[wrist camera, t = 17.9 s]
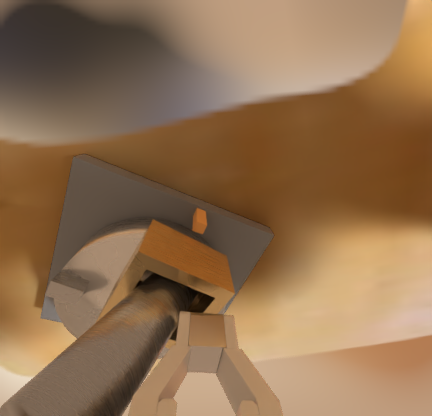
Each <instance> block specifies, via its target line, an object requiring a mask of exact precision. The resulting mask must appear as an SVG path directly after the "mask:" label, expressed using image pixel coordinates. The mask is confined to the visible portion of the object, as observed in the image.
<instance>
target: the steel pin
mask: <svg viewBox="0 0 432 416" xmlns="http://www.w3.org/2000/svg"><path fill="white" fill-rule="evenodd" d="M198 292H199V291H197V290H195V289H192V288H190V287H188V286H185V285H183V284H180V283H178V282H176V281H173V280H171V279H168V278H166V277H164V276H161V275H159V274H156V273H154V272H153V273H152V274H151V275H150V276H148V277H147V278H146V279H145V280H144V281H143V282H142V283H141V284H139V285H138V286H137V287H136V288H135V289H134V290H133V291H131V292H130V293H129V294H128V295H127V296H126V297H125V298H123V299H122V300H121V301H120V302H119V303H118V304H117V305H116V306H114V307H113V308H112V309H111V310H110V311H109V312H108V313H106V314H105V315H104V316H103V317H102V318H101V319H100V320H98V321H97V322H96V323H95V324H94V325H93V326H92V327H91V328H89V329H88V330H87V331H86V332H85V333H84V334H83V335H81V336H80V337H79V338H78V339H77V340H76V341H75V342H73V343H72V344H71V345H70V346H69V347H68V348H67V349H66V350H64V351H63V352H62V353H61V354H60V355H59V356H58V357H56V358H55V359H54V360H53V361H52V362H51V363H50V364H48V365H47V366H46V367H45V368H44V369H43V370H42V371H41V372H39V373H38V374H37V375H36V376H35V377H34V378H33V379H31V380H30V381H29V382H28V383H27V384H26V385H25V386H24V387H22V388H21V389H20V390H19V391H18V392H17V393H16V394H14V395H13V396H12V397H11V398H10V399H9V400H8V401H7V402H5V403H4V404H3V405H2V406H1V408H0V416H122V415H123V413H124V411H125V410H126V408H127V407H128V405H129V403H130V402H131V400H132V398H133V396H134V394H135V393H136V392H137V390H138V389H139V387H140V386H141V384H142V383H143V381H144V379H145V378H146V376H147V374H148V373H149V371H150V370H151V368H152V366H153V365H154V363H155V362H156V360H157V358H158V357H159V355H160V353H161V352H162V350H163V349H164V347H165V345H166V344H167V342H168V340H169V339H170V337H171V336H172V334H173V332H174V331H175V329H176V328H177V326H178V323H179V315H180V311H185V312H186V311H187V310H188V308H189V307H190V305H191V303H192V302H193V300H194V298H195V297H196V295H197V294H198Z"/></svg>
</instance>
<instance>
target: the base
mask: <svg viewBox="0 0 432 416" xmlns="http://www.w3.org/2000/svg"><path fill="white" fill-rule="evenodd" d="M134 218H158V219H163V220H169V221H172V222H175V223H178V224H181V225H183V226H185V227H187V228H189V229H191V230H192V231H194V232H196V233H197V234H199V235H200V236H201V237H202V238H204V239H205V240H206V241H207V242H208V244H209V245H210V246H211V247H212V249H214V250H216V251H218V252H220V253H222V254H224V255H226V256H227V259H228V264H229V268H230V273H231V278H232V282H233V287H234V291H235V294H234V295H233V297H232V298H231V299H230V300H229V301H228V302H227V304H226V307H225V312H226V310H227V309H228V307H229V305H230V304H231V302H232V301H233V299H234V298H235V296H236V295H237V293H238V291H239V290H240V288H241V287H242V285H243V284H244V282H245V281H246V279H247V277H248V276H249V274H250V273H251V271H252V270H253V268H254V267H255V265H256V263H257V262H258V260H259V259H260V257H261V256H262V254H263V253H264V251H265V249H266V248H267V246H268V245H269V243H270V242H271V240H272V239H273V237H274V234H273V232H272V231H271V229H270V228H269V227H267V226H264V225H262V224H259V223H257V222H254V221H252V220H249V219H247V218H244V217H242V216H239V215H237V214H234V213H232V212H229V211H227V210H224V209H222V208H219V207H217V206H214V205H212V204H209V203H207V202H204V201H202V200H199V199H197V198H194V197H192V196H189V195H187V194H184V193H182V192H179V191H177V190H174V189H172V188H169V187H167V186H164V185H162V184H159V183H157V182H154V181H152V180H149V179H147V178H144V177H142V176H139V175H137V174H134V173H132V172H129V171H127V170H124V169H121V168H119V167H116V166H114V165H111V164H109V163H106V162H104V161H101V160H99V159H96V158H94V157H91V156H89V155H86V154H81V155H78V156H74V157H73V161H72V166H71V171H70V176H69V180H68V185H67V190H66V195H65V200H64V205H63V210H62V215H61V220H60V225H59V230H58V235H57V239H56V244H55V249H54V254H53V259H52V264H51V269H50V274H49V279H48V284H47V289H48V286H49V284H50V282H51V280H52V279H53V278H54V277H55V276H56V275H57V274H58V273H59V272H60V271H61V270H62V269H63V268H64V267H65V265H66V264H67V263H68V262H69V261H70V260H71V259H72V257H73V256H74V255H75V254H76V253H77V252H78V251H79V250H80V249H81V248H82V247H83V246H84V245H85V243H86V242H87V241H88V240H89V239H90V238H91V237H92V236H94V235H95V234H96V233H97V232H98V231H100V230H102V229H103V228H105V227H107V226H109V225H111V224H114V223H116V222H120V221H123V220H128V219H134ZM47 289H46V291H47ZM225 312H224V313H225ZM41 318H42V319H47V320H52V321H57V322H61V320H60V318H59V316H58V314H57V312H56V308H55V305H54V298H52V297H49V296H46V295H45V298H44V303H43V308H42V313H41Z"/></svg>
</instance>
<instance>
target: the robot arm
mask: <svg viewBox="0 0 432 416" xmlns="http://www.w3.org/2000/svg"><path fill="white" fill-rule="evenodd" d="M187 372H204V373H217V374H216V375H217V377H218V379H219V381H220V383H221V385H222V387H223V389H224V391H225V393H226V396H227V398H228V400H229V402H230V404H231V406H232V408H233V410H234V412H235V414H236V416H283V413H282V409H281V405H280V402H279V399H278V398H277V397H276V395H275V394H274V393H273V391H272V390H271V389H270V387H269V386H268V384H267V383H266V382H265V380H264V379H263V378H262V376H261V375H260V373H259V372H258V371H257V369H256V368H255V367H254V365H253V364H252V362H251V361H250V360H249V358H248V357H247V356H246V354H245V353H244V352H243V350H242V349H239V348H238V341H237V334H236V328H235V321H234V316H233V315H224V314H212V313H196V312H191V313H190V312H185V311H180V315H179V323H178V330H177V338H176V345H172V346H171V348H170V349H169V350H168V351H167V353H166V354H165V355H164V357H163V358H162V359H161V361H160V362H159V363H158V364H157V366H156V367H155V368H154V370H153V371H152V372H151V374H150V375H149V376H148V377H147V379H146V380H145V381H144V383H143V384H142V385H141V386H140V388H139V389H138V390H137V392H136V393H135V394H134V396H133V398H132V402H131V406H130V410H129V413H128V416H176V409H177V402H176V401H175V400H174V399H173V397H174V396H175V394H176V392H177V390H178V388H179V387H180V385H181V383H182V381H183V380H184V378H185V376H186V374H187Z"/></svg>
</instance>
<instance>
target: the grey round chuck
mask: <svg viewBox="0 0 432 416" xmlns="http://www.w3.org/2000/svg"><path fill="white" fill-rule="evenodd" d="M153 272H154V273H156V274H159V275H161V276H164V277H166V278H168V279H171V280H173V281H176V282H178V283H180V284H183V285H185V286H188V287H190V288H192V289H195V290H197V291H199V292H198V294H197V295H196V297H195V298H194V300H193V302H192V303H191V305H190V307H189V308H188V310H187V311H186V312H190V313H191V312H196V313H212V314H224V312H225V307H226V304H227V302H228V301H229V300H230V299H231V298H232V297H233V295H234V294H235V291H234V287H233V282H232V278H231V273H230V268H229V264H228V259H227V256H226V255H224V254H222V253H220V252H218V251H216V250H214V249H212V247H211V246H210V245H209V244H208V242H207V241H206V240H205V239H204V238H202V237H201V236H200V235H199V234H197V233H196V232H194V231H192V230H191V229H189V228H187V227H185V226H183V225H181V224H178V223H175V222H172V221H169V220H163V219H158V218H134V219H128V220H123V221H120V222H116V223H114V224H111V225H109V226H107V227H105V228H103V229H102V230H100V231H98V232H97V233H96V234H95V235H94V236H92V237H91V238H90V239H89V240H88V241H87V242H86V243H85V245H84V246H83V247H82V248H81V249H80V250H79V251H78V252H77V253H76V254H75V255H74V256H73V257H72V259H71V260H70V261H69V262H68V263H67V264H66V265H65V267H64V268H63V269H62V270H61V271H60V272H59V273H58V274H57V275H56V276H55V277H54V278H53V279H52V280H51V282H50V284H49V286H48V289H47V291H46V293H45V295H46V296H49V297H52V298H54V305H55V308H56V312H57V314H58V316H59V318H60V320H61V322H62V323H63V325H64V326H65V327H66V328H67V329H68V331H69V332H70V333H71V334H72V335H74V336H75V337H76V338H77V339H78V338H79V337H80V336H81V335H83V334H84V333H85V332H86V331H87V330H88V329H89V328H91V327H92V326H93V325H94V324H95V323H96V322H97V321H98V320H100V319H101V318H102V317H103V316H104V315H105V314H106V313H108V312H109V311H110V310H111V309H112V308H113V307H114V306H116V305H117V304H118V303H119V302H120V301H121V300H122V299H123V298H125V297H126V296H127V295H128V294H129V293H130V292H131V291H133V290H134V289H135V288H136V287H137V286H138V285H139V284H141V283H142V282H143V281H144V280H145V279H146V278H147V277H148V276H150V275H151V274H152V273H153ZM177 330H178V326H177V328H176V329H175V331H174V332H173V334H172V336H171V337H170V339H169V340H168V342H167V344H166V345H165V347H164V349H163V350H162V352H161V353H160V355H159V357H158V358H157V359H160V358H163V357H164V355H165V354H166V353H167V351H168V350H169V349H170V348H171V346H172V345H176V338H177Z"/></svg>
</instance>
